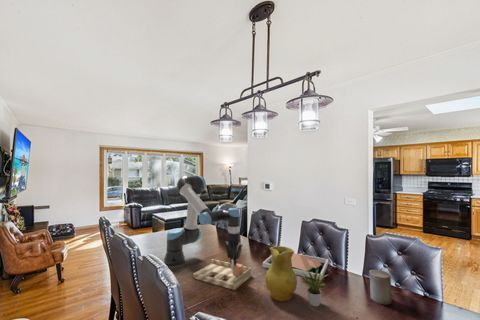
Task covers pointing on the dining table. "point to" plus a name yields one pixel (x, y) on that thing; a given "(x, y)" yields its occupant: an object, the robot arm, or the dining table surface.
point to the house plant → (314, 288)
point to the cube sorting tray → (222, 274)
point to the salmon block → (238, 269)
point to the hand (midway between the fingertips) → (233, 269)
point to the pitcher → (281, 274)
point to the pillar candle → (380, 286)
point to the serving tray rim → (299, 272)
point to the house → (304, 262)
